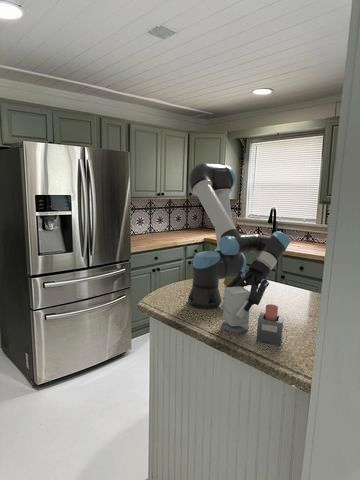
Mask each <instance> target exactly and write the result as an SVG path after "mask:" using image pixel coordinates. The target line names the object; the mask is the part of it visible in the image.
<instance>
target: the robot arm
mask: <svg viewBox="0 0 360 480" xmlns="http://www.w3.org/2000/svg"><path fill="white" fill-rule="evenodd" d="M235 183H236V175H235V172H234V170H233V169H232V167H230V166H228V165H225V164H223V163H222V164H221V163H220V164H218V163H215V164H214V163H207V162H201V163H197V164H196V165H194V166H193V167H192V169H191V170H190V171H189V176H188V184H189V187H190V190H191V191H192V194H193V195H194V196H197V199H198V200H199V202H200V203H201V205H202V207H203V208H204V211H205V213H206V215H207V216H208V218H209V220H210V222H211V223H212V225H213V227H214V230H215V238H216V244H217V245H216V246H217V247H216V248H215V249H214V251H213V250H208V251H207V250H206V251H200V252H198V253H195V255H194V256H193V262H192V266H193V267H192V286H191V290H190V292H189V294H188V298H187V304H188V305H189V306H190V307H192V308H195V309H198V310H199V309H200V310H215V309H218V308H220V310H221V311H223V310H224V297H223V298H222V297H221V293H220V290H219V281H220V280H223V279H225V278H231V277H236V276H237V277H236V278H235V279H234V280H233V281H232V282H231V283H230V284H229V285H226V287H225V288H227V287H240V286H241V287H243V288H245V287H248V286H250V290H249V291H250V295H249V300H248V301H247V300H246V301H245V302H244V304H243V305H242V307H241V308H240V309H239V311H238V312H237V314H236V315H237V316H238V317H239V319H242V317H243V316H244V314H245V313H246V311H247V312H248V311H249V312H250V309H251V308H252V306H254V305H256V306H259V305H260V302H261V301H262V299H263V297H264V294H265V291H266V289H267V288H268V286H270V282H269V281H268V279H267V278H268V276H269V274H270V273H271V271H272V270H273V268H274V267H275V266H276V265H277V262H278V261H279V260H280V258H281V257H282V256H283V255H284V253H285V252H286V250H287V249H288V247H289V245H290V243H291V239H290V238H289V236H288V235H287V234H286V233H284V232H282V231H280V230H279V231H274V232H273V233H272V234H271V235H264V234H259V233H255V232H247V233H245V234H240V232H239V231H238V230H237V228H236V227H235V224H234V222H233V216H232V215H233V214H232V209H231V199H230V194H231V192H232V189H233V187H234V186H235ZM249 253H250V254H251V253H258V254H257V256H256V257H255V259H254V260H253V261H252V262H251V264H250V265H249V268H248V270H247V271H246V272H245V270H246V268H247V259H246V256H245V255H244V254H249Z"/></svg>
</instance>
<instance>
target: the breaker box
mask: <svg viewBox="0 0 360 480" xmlns="http://www.w3.org/2000/svg"><path fill="white" fill-rule="evenodd" d="M265 313H266V312H263V311H260V313H259V315H258V318H257V326H256V327H257V328H256V342H259V341H260V343H264V342H265V343H264V344H269V343H270V345H274V344H276V345H275V346H280V345H282V339H283V328H284V320H285V319H284V315H282V314H277V321H273V320H267V319H265Z"/></svg>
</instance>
